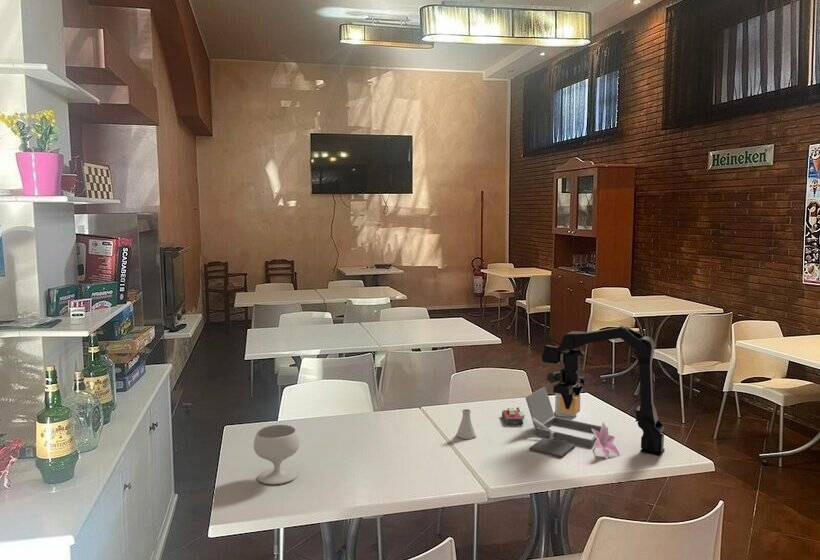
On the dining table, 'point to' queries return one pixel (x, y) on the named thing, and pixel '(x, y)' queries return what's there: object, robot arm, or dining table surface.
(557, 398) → the small box
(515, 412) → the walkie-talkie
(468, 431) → the flask
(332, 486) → the dining table surface
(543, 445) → the rubber mat
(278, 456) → the chalice
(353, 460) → the dining table surface
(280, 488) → the dining table surface
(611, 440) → the lily
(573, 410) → the block
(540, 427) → the case
